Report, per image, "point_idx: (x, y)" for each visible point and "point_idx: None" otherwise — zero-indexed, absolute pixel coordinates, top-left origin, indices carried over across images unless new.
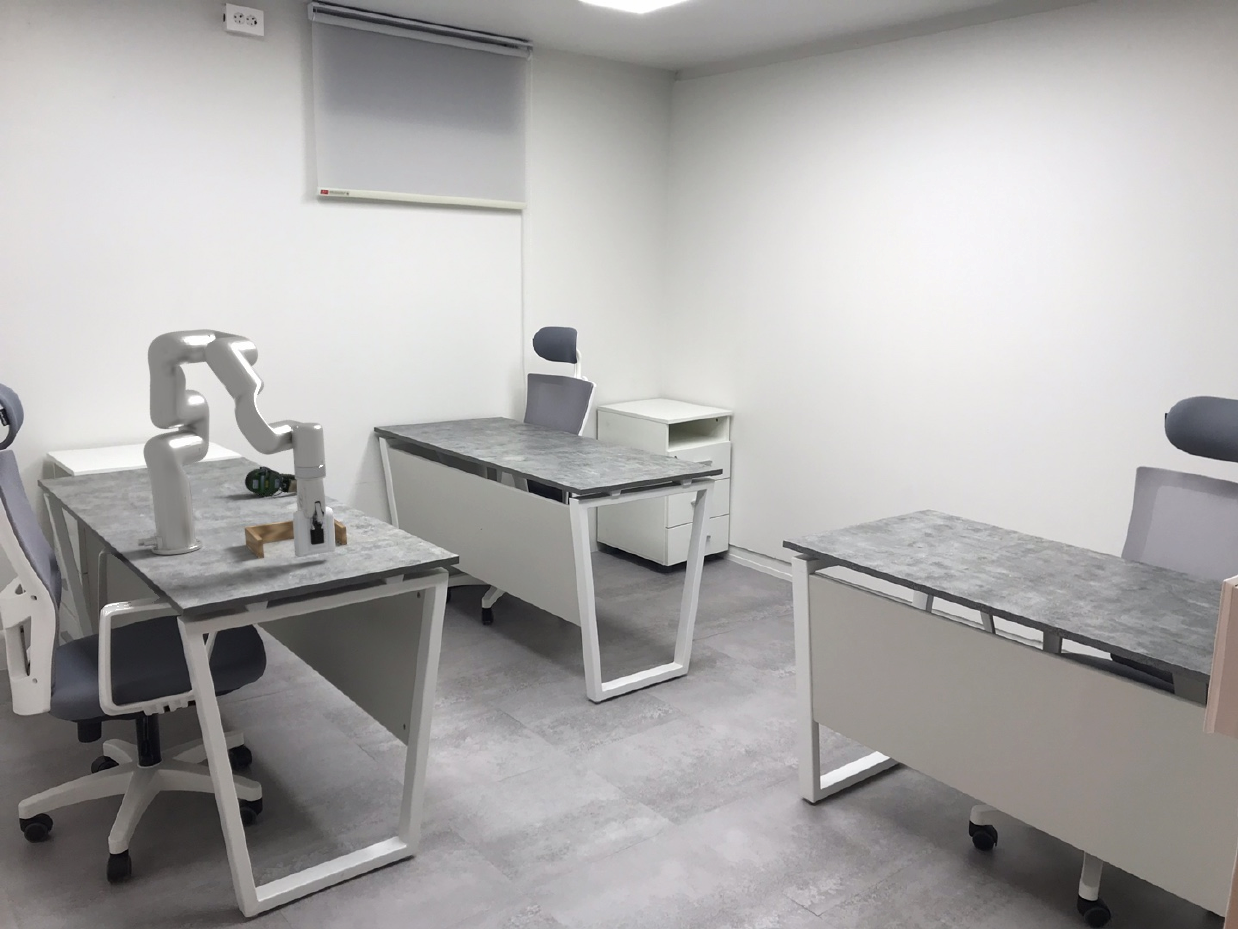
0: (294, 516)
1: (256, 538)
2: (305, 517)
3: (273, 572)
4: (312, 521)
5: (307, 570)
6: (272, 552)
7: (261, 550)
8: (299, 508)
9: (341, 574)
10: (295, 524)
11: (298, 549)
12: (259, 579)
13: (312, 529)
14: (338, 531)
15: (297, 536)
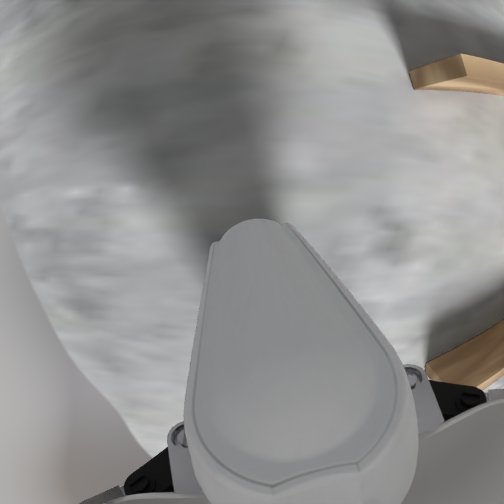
0: (278, 428)
1: (480, 58)
2: (144, 499)
3: (166, 109)
4: (176, 485)
5: (150, 258)
6: (463, 133)
7: (430, 75)
8: (444, 494)
9: (85, 361)
10: (225, 349)
11: (219, 252)
12: (89, 69)
13: (173, 427)
14: (474, 368)
15: (218, 289)
